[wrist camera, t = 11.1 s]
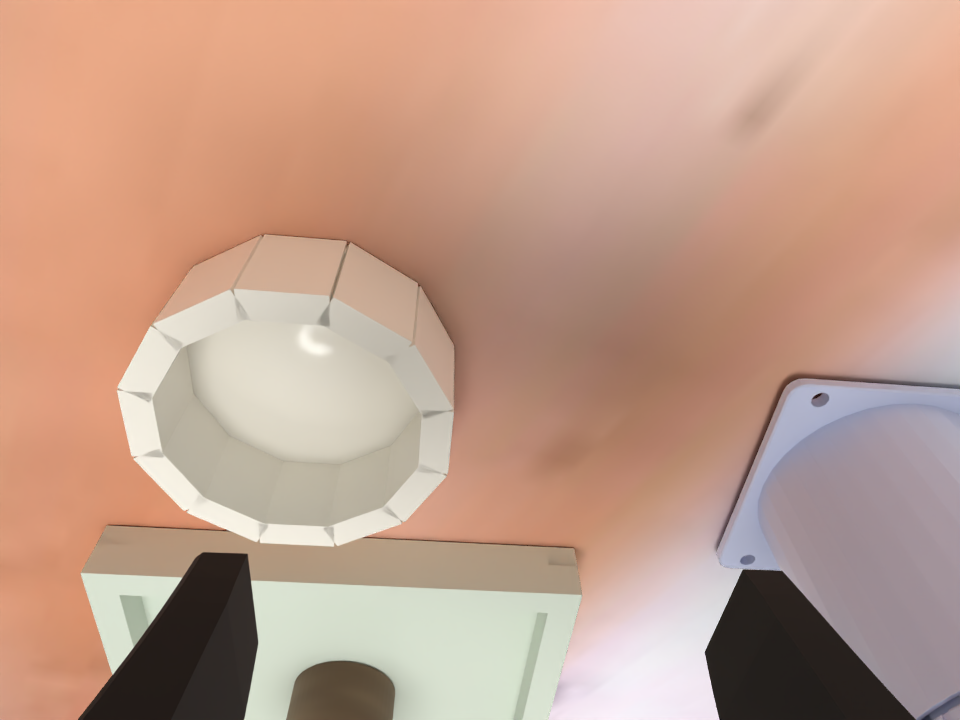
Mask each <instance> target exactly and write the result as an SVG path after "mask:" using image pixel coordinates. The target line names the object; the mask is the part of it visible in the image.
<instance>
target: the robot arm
mask: <svg viewBox="0 0 960 720" xmlns="http://www.w3.org/2000/svg"><path fill="white" fill-rule="evenodd" d="M819 393H822V395H821V396H820V397H818V398H816V399H812V398H813V397H814V396H815V395H817V394H819ZM716 555H717V557H718V560H719V562H720V564H721V565H722V566H724V567H728V568H742V569H763V570H743V571H742V573H741V575H740V577H739V579H738V582H737V584H736V586H735V588H734V590H733V592H732V595H731V597H730V599H729V601H728V603H727V605H726V607H725V610H724V612H723V614H722V616H721V618H720V620H719V623H718V625H717V627H716V629H715V631H714V633H713V636H712V638H711V640H710V642H709V644H708V646H707V649H706V651H705V655H706V660H707V665H708V670H709V675H710V680H711V684H712V689H713V694H714V698H715V702H716V707H717V711H718V715H719V719H720V720H960V389H951V388H937V387H922V386H908V385H894V384H879V383H865V382H851V381H836V380H822V379H807V378H803V379H797V380H795V381H792V382H791V383H789V384H788V385H787V386H786V387H785V389H784V390H783V393H782V395H781V397H780V400H779V402H778V405H777V407H776V409H775V412H774V414H773V417H772V419H771V422H770V424H769V426H768V429H767V431H766V434H765V436H764V438H763V441H762V443H761V446H760V448H759V450H758V453H757V455H756V458H755V460H754V463H753V465H752V467H751V470H750V472H749V475H748V477H747V479H746V482H745V484H744V487H743V489H742V492H741V494H740V496H739V499H738V501H737V504H736V506H735V508H734V511H733V513H732V516H731V518H730V520H729V523H728V525H727V528H726V530H725V533H724V535H723V537H722V540H721V542H720V545H719V547H718V549H717V554H716ZM773 570H781V571H773ZM257 648H258V634H257V626H256V618H255V610H254V601H253V593H252V585H251V577H250V569H249V560H248V554H245V553H214V552H202V553H201V554H200V555H198V556H197V557H195V559H194V561H193V562H192V564H191V565H190V567H189V568H188V570H187V572H186V573H185V575H184V576H183V578H182V579H181V581H180V582H179V584H178V585H177V587H176V588H175V590H174V591H173V593H172V594H171V596H170V597H169V599H168V600H167V601H166V603H165V604H164V606H163V607H162V609H161V610H160V612H159V613H158V614H157V616H156V617H155V619H154V620H153V621H152V623H151V624H150V626H149V627H148V628H147V630H146V631H145V632H144V634H143V635H142V637H141V638H140V639H139V641H138V642H137V644H136V645H135V646H134V648H133V649H132V650H131V652H130V653H129V654H128V656H127V657H126V658H125V659H124V661H123V662H122V663H121V665H120V666H119V667H118V669H117V670H116V671H115V672H114V674H113V675H112V676H111V678H110V679H109V680H108V682H107V683H106V684H105V686H104V687H103V688H102V689H101V691H100V692H99V693H98V695H97V696H96V697H95V699H94V700H93V701H92V702H91V704H90V705H89V706H88V707H87V709H86V710H85V711H84V712H83V714H82V715H81V716H80V717H79V719H78V720H244V718H245V713H246V708H247V703H248V698H249V693H250V687H251V682H252V676H253V671H254V665H255V660H256V654H257Z"/></svg>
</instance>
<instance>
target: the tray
mask: <svg viewBox="0 0 960 720" xmlns="http://www.w3.org/2000/svg"><path fill="white" fill-rule="evenodd" d="M202 552H214V553H245V554H248V560H249V569H250V577H251V585H252V593H253V601H254V610H255V618H256V626H257V634H258V648H257V654H256V660H255V665H254V671H253V676H252V682H251V687H250V693H249V698H248V703H247V708H246V713H245V718H244V720H286V718H287V713H288V709H289V705H290V700H291V696H292V691H293V687H294V683H295V680H296V678H297V677H298V676H299V675H300V674H301V673H302V672H303V671H304V670H306V669H308V668H310V667H312V666H314V665H317V664H321V663H326V662H335V661H345V662H354V663H359V664H363V665H366V666H369V667H372V668H374V669H376V670H378V671H380V672H381V673H383V674H384V675H386V676H387V677H388V678H389V679H390V681H391V682H392V684H393V686H394V688H395V701H394V711H393V720H548V718H549V714H550V711H551V707H552V704H553V700H554V696H555V693H556V689H557V685H558V682H559V678H560V675H561V671H562V667H563V664H564V660H565V656H566V653H567V649H568V646H569V642H570V638H571V635H572V631H573V627H574V624H575V620H576V617H577V613H578V609H579V606H580V602H581V598H582V590H581V584H580V578H579V573H578V567H577V562H576V556H575V550H574V548H558V547H538V546H518V545H497V544H477V543H456V542H436V541H415V540H395V539H375V538H359V539H356V540H354V541H351V542H348V543H345V544H342V545H339V546H337V545H336V544H335V545H334V547H333V546H312V545H291V544H270V543H260V539H259V540H258V541H257V542H255V541H252V540H250V539H248V538H245V537H243V536H241V535H238V534H236V533H233V532H231V531H211V530H191V529H170V528H150V527H129V526H109V525H107V526H106V528H105V530H104V532H103V533H102V535H101V537H100V539H99V541H98V542H97V544H96V546H95V548H94V550H93V551H92V553H91V555H90V557H89V559H88V560H87V562H86V564H85V566H84V568H83V570H82V571H81V576H82V579H83V582H84V586H85V589H86V592H87V595H88V598H89V602H90V605H91V608H92V611H93V614H94V617H95V621H96V624H97V627H98V630H99V633H100V637H101V640H102V643H103V646H104V649H105V652H106V656H107V659H108V662H109V665H110V668H111V672H112V675H113V674H114V672H115V671H116V670H117V669H118V667H119V666H120V665H121V663H122V662H123V661H124V659H125V658H126V657H127V656H128V654H129V653H130V652H131V650H132V649H133V648H134V646H135V645H136V644H137V642H138V641H139V639H140V638H141V637H142V635H143V634H144V632H145V631H146V630H147V628H148V627H149V626H150V624H151V623H152V621H153V620H154V619H155V617H156V616H157V614H158V613H159V612H160V610H161V609H162V607H163V606H164V604H165V603H166V601H167V600H168V599H169V597H170V596H171V594H172V593H173V591H174V590H175V588H176V587H177V585H178V584H179V582H180V581H181V579H182V578H183V576H184V575H185V573H186V572H187V570H188V568H189V567H190V565H191V564H192V562H193V561H194V559H195V557H197V556H198V555H200V554H201V553H202Z"/></svg>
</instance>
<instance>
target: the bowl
mask: <svg viewBox="0 0 960 720" xmlns="http://www.w3.org/2000/svg"><path fill="white" fill-rule="evenodd" d="M117 388H118V390H117V393H118V398H119V402H120V407H121V411H122V415H123V420H124V424H125V429H126V433H127V438H128V442H129V447H130V451H131V456H134V458H133V459H134V460H135V461H136V462H137V463H138V464H139V465H140V466H141V467H142V468H143V469H144V470H145V471H146V472H147V474H148V475H149V476H150V477H151V478H152V479H153V480H154V481H155V482H156V483H157V484H158V485H159V486H160V487H161V488H162V489H163V490H164V491H165V492H166V493H167V494H168V495H169V496H170V497H171V498H172V499H173V500H174V501H175V502H176V503H177V504H178V505H179V506H180V508H181V509H182V510H183V511H185V510H187V509H188V511H187V513H188V514H191V515H193V516H196V517H198V518H200V519H203V520H205V521H207V522H210V523H212V524H214V525H217V526H219V527H222V528H224V529H226V530H229V531H231V532H233V533H236V534H238V535H241V536H243V537H245V538H248V539H250V540H252V541H255V542H257V541H258V540H259V539H260V543H270V544H291V545H312V546H333V547H334V545H335V544H336V545H337V546H339V545H342V544H345V543H348V542H351V541H354V540H356V539H359V538H362V537H365V536H368V535H371V534H374V533H377V532H380V531H382V530H385V529H388V528H391V527H394V526H397V525H400V524H402V521H403V522H405V521H406V520H407V519H408V518H409V517H410V516H411V515H412V513H413V512H414V511H415V510H416V509H417V508H418V507H419V506H420V505H421V504H422V503H423V501H424V500H425V499H426V498H427V497H428V496H429V495H430V494H431V493H432V492H433V491H434V490H435V488H436V487H437V486H438V485H439V484H440V483H441V482H442V481H443V480H444V479H445V478H446V476H447V474H448V467H449V457H450V447H451V437H452V427H453V417H454V344H453V343H452V341H451V339H450V337H449V335H448V334H447V332H446V330H445V328H444V327H443V325H442V323H441V321H440V319H439V318H438V316H437V314H436V312H435V311H434V309H433V307H432V305H431V303H430V302H429V300H428V298H427V296H426V295H425V293H424V291H423V289H422V287H421V286H419V287H418V283H417V282H415V281H413V280H412V279H410V278H409V277H407V276H405V275H404V274H402V273H400V272H399V271H397V270H395V269H394V268H392V267H390V266H389V265H387V264H386V263H384V262H382V261H381V260H379V259H377V258H376V257H374V256H372V255H371V254H369V253H367V252H366V251H364V250H363V249H361V248H359V247H358V246H356V245H354V244H353V243H351V242H350V243H349V245H348V246H347V241H342V240H329V239H317V238H305V237H292V236H280V235H268V234H264V236H263V237H262V235H260V236H258V237H255V238H253V239H251V240H249V241H247V242H245V243H242V244H240V245H238V246H236V247H234V248H232V249H229V250H227V251H225V252H223V253H221V254H219V255H217V256H214V257H212V258H210V259H208V260H206V261H204V262H201V263H199V264H197V265H195V266H193V268H191V269H190V271H189V272H188V274H187V275H186V277H185V278H184V279H183V281H182V282H181V284H180V285H179V286H178V288H177V289H176V291H175V292H174V293H173V295H172V296H171V298H170V299H169V301H168V302H167V303H166V305H165V306H164V308H163V309H162V310H161V312H160V313H159V315H158V316H157V318H156V319H155V320H154V322H153V323H152V325H151V326H150V328H149V330H148V332H147V333H146V335H145V337H144V339H143V341H142V343H141V345H140V346H139V348H138V350H137V352H136V354H135V356H134V357H133V359H132V361H131V363H130V365H129V367H128V369H127V370H126V372H125V374H124V376H123V378H122V380H121V382H120V383H119V385H118V387H117Z"/></svg>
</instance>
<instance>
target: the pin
mask: <svg viewBox="0 0 960 720" xmlns="http://www.w3.org/2000/svg"><path fill="white" fill-rule="evenodd" d="M394 701H395V688H394V686H393V684H392V682H391V681H390V679H389V678H388V677H387V676H386V675H384V674H383V673H381V672H380V671H378V670H376V669H374V668H372V667H369V666H366V665H363V664H359V663H354V662H345V661H335V662H326V663H321V664H317V665H314V666H312V667H310V668H308V669H306V670H304V671H303V672H302V673H301V674H300V675H299V676H298V677H297V678H296V680H295V683H294V687H293V691H292V696H291V700H290V705H289V709H288V713H287V718H286V720H393V711H394Z"/></svg>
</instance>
